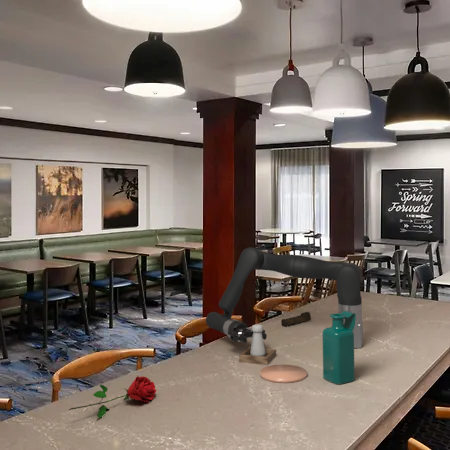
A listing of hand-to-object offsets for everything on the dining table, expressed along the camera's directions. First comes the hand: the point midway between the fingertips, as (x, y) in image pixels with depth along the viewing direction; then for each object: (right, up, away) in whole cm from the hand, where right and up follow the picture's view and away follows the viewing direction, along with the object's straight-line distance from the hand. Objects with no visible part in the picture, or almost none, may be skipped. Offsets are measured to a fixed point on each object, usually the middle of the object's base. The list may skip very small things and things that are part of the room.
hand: (255, 338), depth 197 cm
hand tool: (+23, -5, +53) cm, 58 cm away
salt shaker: (+1, -8, -1) cm, 8 cm away
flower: (-43, -11, -45) cm, 64 cm away
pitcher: (+27, -8, -25) cm, 37 cm away
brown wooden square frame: (+1, -7, -1) cm, 8 cm away
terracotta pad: (+8, -8, -19) cm, 22 cm away
